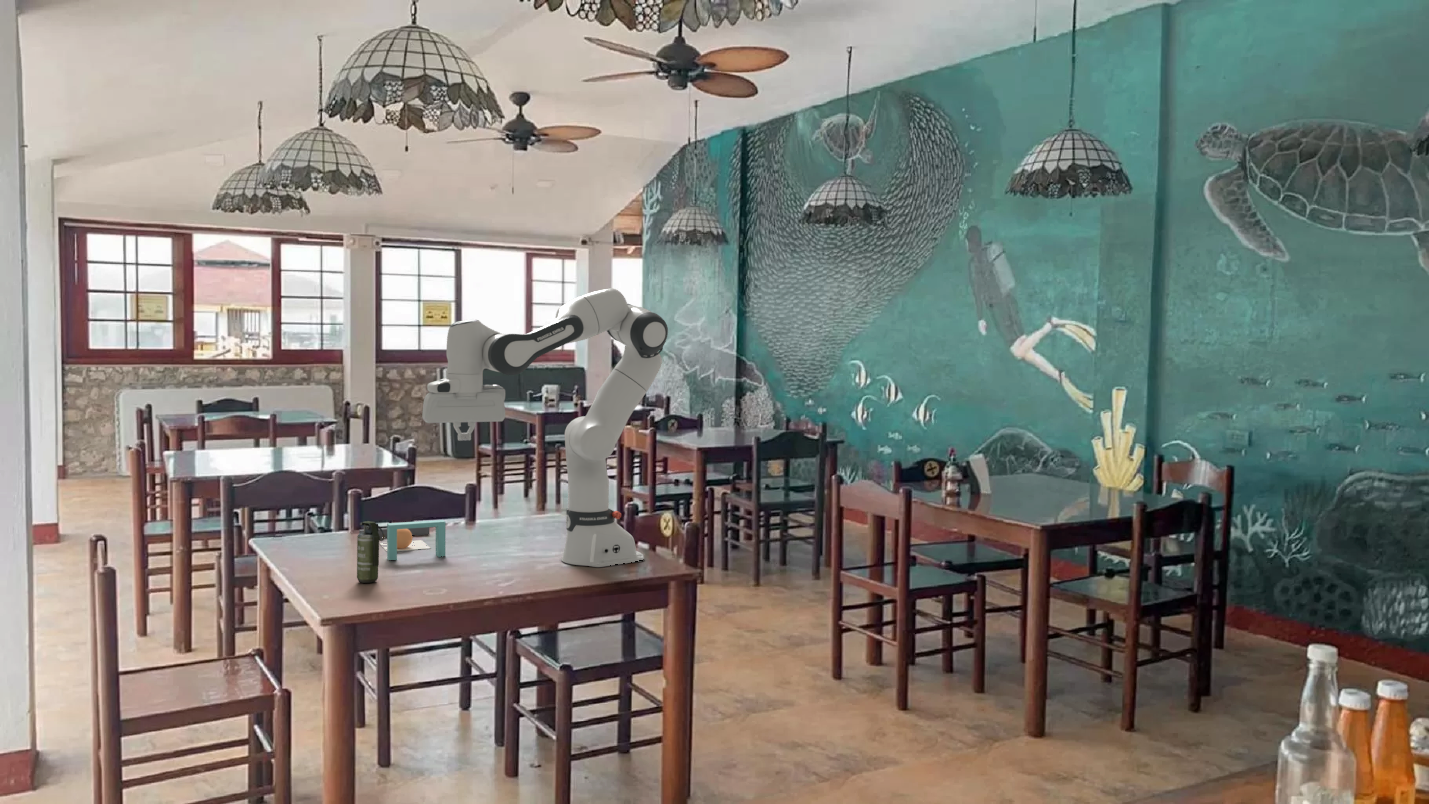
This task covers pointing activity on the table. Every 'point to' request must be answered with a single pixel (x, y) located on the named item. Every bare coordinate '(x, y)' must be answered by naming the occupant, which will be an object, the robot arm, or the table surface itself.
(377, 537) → the grenade
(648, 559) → the table surface
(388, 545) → the bridge
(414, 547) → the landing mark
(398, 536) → the ball
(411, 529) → the stopper
